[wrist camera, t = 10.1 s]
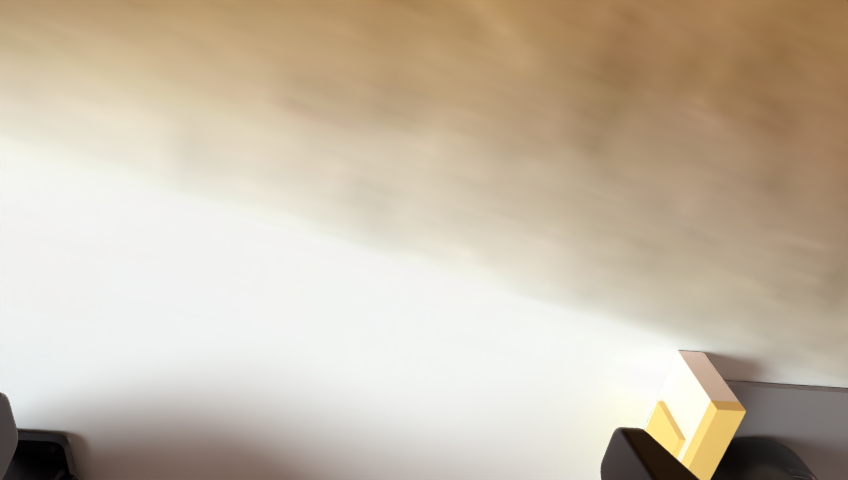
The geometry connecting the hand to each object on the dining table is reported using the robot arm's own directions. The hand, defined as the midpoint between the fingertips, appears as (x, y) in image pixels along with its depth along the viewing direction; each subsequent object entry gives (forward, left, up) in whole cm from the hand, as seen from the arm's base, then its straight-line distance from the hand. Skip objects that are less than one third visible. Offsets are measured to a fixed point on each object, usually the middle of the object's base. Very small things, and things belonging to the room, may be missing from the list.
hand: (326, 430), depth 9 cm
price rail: (+15, -15, -13) cm, 25 cm away
